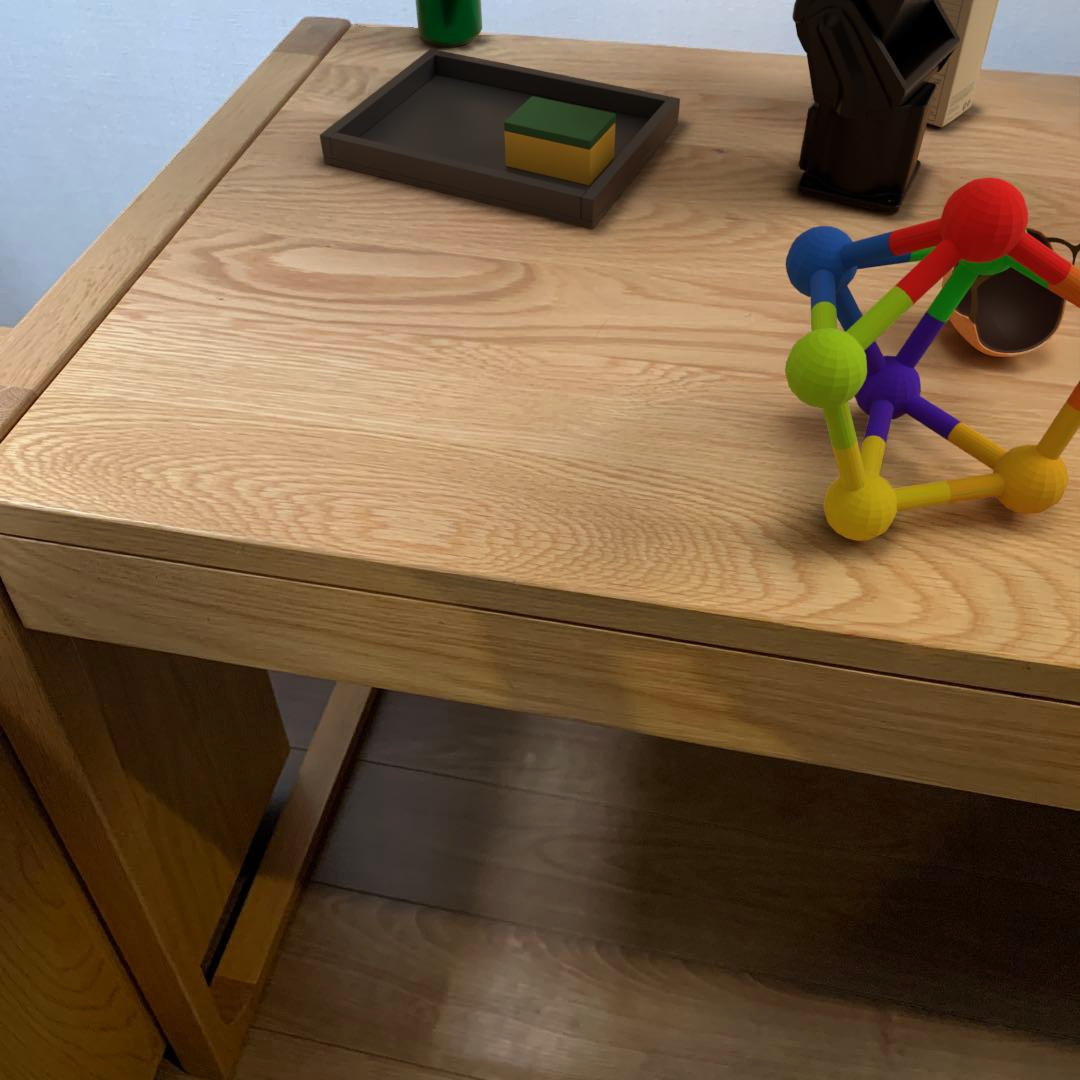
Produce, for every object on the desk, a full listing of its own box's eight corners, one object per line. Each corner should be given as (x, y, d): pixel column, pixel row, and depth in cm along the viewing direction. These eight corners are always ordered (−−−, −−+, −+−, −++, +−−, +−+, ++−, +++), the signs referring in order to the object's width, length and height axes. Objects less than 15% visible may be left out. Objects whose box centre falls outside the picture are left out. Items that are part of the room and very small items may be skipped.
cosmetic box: (972, 109, 75) (1027, -83, 66) (941, 131, 73) (994, -65, 64) (891, 82, 78) (934, -105, 69) (859, 103, 76) (899, -88, 67)
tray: (678, 126, 74) (680, 97, 73) (592, 229, 65) (593, 199, 64) (432, 75, 80) (430, 48, 79) (324, 163, 71) (319, 134, 70)
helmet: (1129, 307, 50) (1059, 347, 58) (1078, 174, 50) (1015, 231, 58) (1008, 348, 50) (955, 382, 58) (959, 215, 50) (912, 267, 58)
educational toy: (931, 351, 57) (1045, 73, 46) (1091, 521, 49) (1275, 236, 38) (669, 408, 53) (722, 118, 42) (797, 604, 45) (906, 311, 34)
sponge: (532, 139, 72) (531, 95, 70) (614, 157, 70) (616, 113, 68) (505, 166, 70) (503, 121, 67) (589, 185, 68) (590, 140, 66)
